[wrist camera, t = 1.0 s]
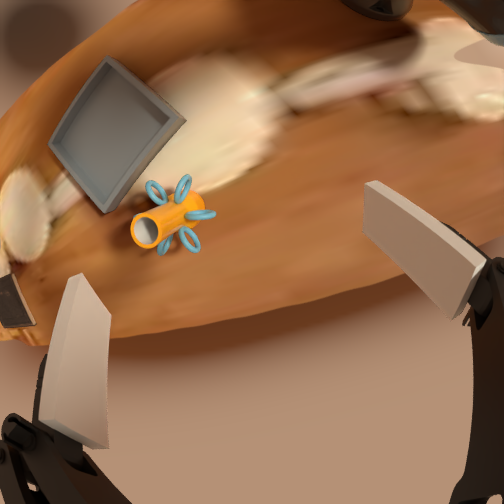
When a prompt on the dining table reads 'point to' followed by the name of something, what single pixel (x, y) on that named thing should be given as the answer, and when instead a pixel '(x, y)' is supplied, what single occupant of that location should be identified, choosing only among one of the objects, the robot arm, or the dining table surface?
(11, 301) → the hardcover book
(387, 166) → the dining table surface
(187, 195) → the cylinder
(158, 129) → the tray
